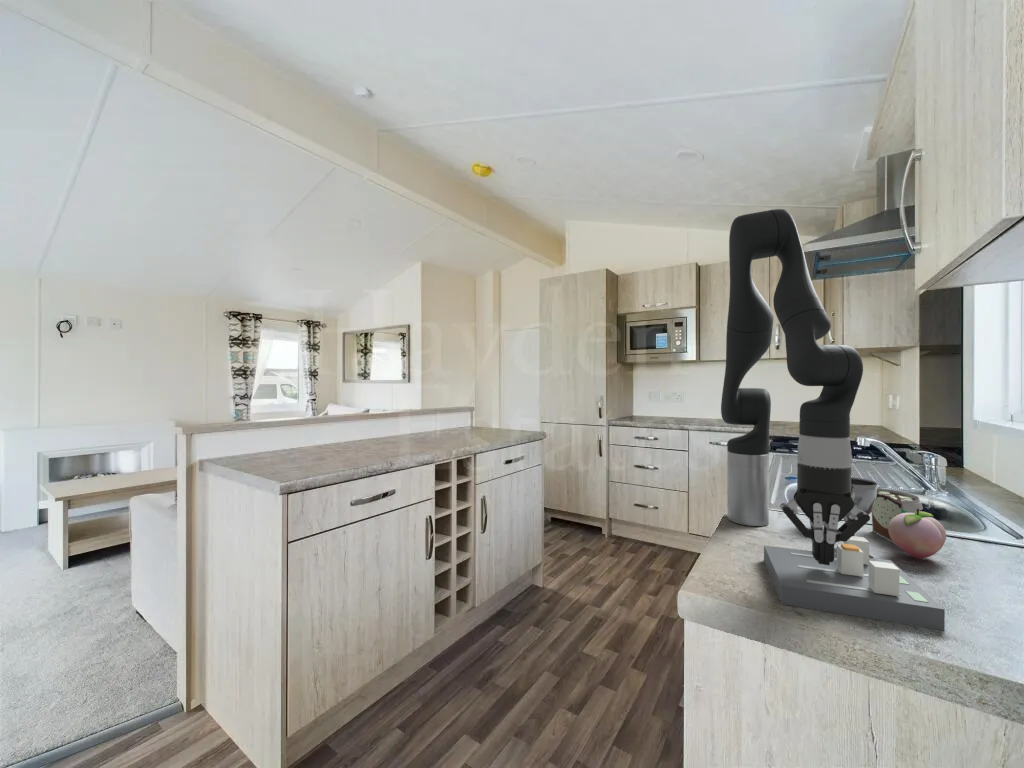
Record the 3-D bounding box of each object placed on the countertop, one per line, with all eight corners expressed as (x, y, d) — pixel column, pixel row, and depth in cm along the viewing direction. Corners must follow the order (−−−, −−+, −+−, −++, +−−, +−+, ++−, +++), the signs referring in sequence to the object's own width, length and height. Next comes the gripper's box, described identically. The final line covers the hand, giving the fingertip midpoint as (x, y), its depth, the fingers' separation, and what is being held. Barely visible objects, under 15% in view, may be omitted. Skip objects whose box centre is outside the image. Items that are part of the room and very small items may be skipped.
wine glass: (824, 554, 90) (824, 480, 89) (830, 543, 95) (830, 474, 95) (875, 565, 84) (875, 487, 84) (878, 553, 90) (878, 480, 90)
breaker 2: (868, 585, 69) (868, 560, 69) (892, 589, 68) (892, 563, 68) (874, 592, 67) (874, 566, 67) (899, 596, 66) (899, 569, 66)
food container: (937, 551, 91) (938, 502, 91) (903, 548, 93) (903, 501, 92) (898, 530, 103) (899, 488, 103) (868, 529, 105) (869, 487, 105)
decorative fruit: (896, 546, 94) (896, 499, 94) (950, 559, 87) (950, 509, 87) (881, 557, 88) (881, 507, 88) (936, 571, 82) (937, 517, 81)
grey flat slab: (763, 560, 87) (763, 544, 87) (890, 577, 79) (890, 559, 79) (781, 604, 70) (781, 584, 70) (944, 630, 63) (944, 608, 63)
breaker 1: (843, 557, 81) (843, 535, 80) (863, 559, 79) (864, 537, 79) (848, 562, 78) (848, 539, 78) (868, 564, 77) (869, 541, 77)
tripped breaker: (836, 568, 76) (837, 542, 76) (858, 570, 75) (858, 544, 75) (841, 573, 74) (841, 547, 74) (863, 576, 73) (863, 550, 73)
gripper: (863, 460, 76) (862, 560, 77) (775, 455, 81) (774, 549, 82) (880, 469, 69) (879, 578, 70) (782, 463, 74) (782, 565, 75)
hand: (822, 562), depth 76 cm, fingers closed
